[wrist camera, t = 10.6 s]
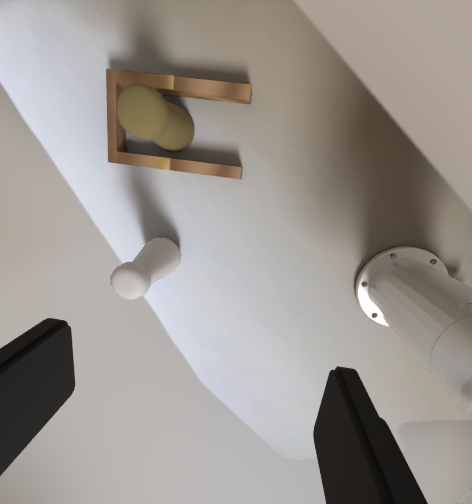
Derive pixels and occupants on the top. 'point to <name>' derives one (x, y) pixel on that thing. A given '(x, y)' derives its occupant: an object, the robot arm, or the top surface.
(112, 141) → the wooden u-shaped frame
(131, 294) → the salt shaker
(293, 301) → the top surface
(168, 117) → the pepper shaker
